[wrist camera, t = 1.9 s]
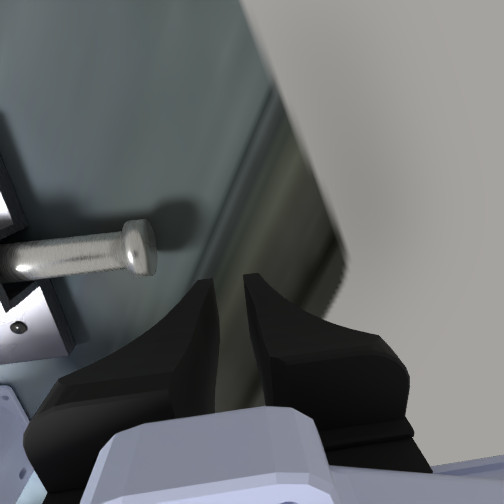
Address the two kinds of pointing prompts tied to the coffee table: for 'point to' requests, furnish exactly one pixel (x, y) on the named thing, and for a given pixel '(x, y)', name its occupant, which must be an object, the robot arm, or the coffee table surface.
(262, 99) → the coffee table surface
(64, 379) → the robot arm
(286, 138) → the coffee table surface
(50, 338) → the hinge leaves
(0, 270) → the hinge pin
